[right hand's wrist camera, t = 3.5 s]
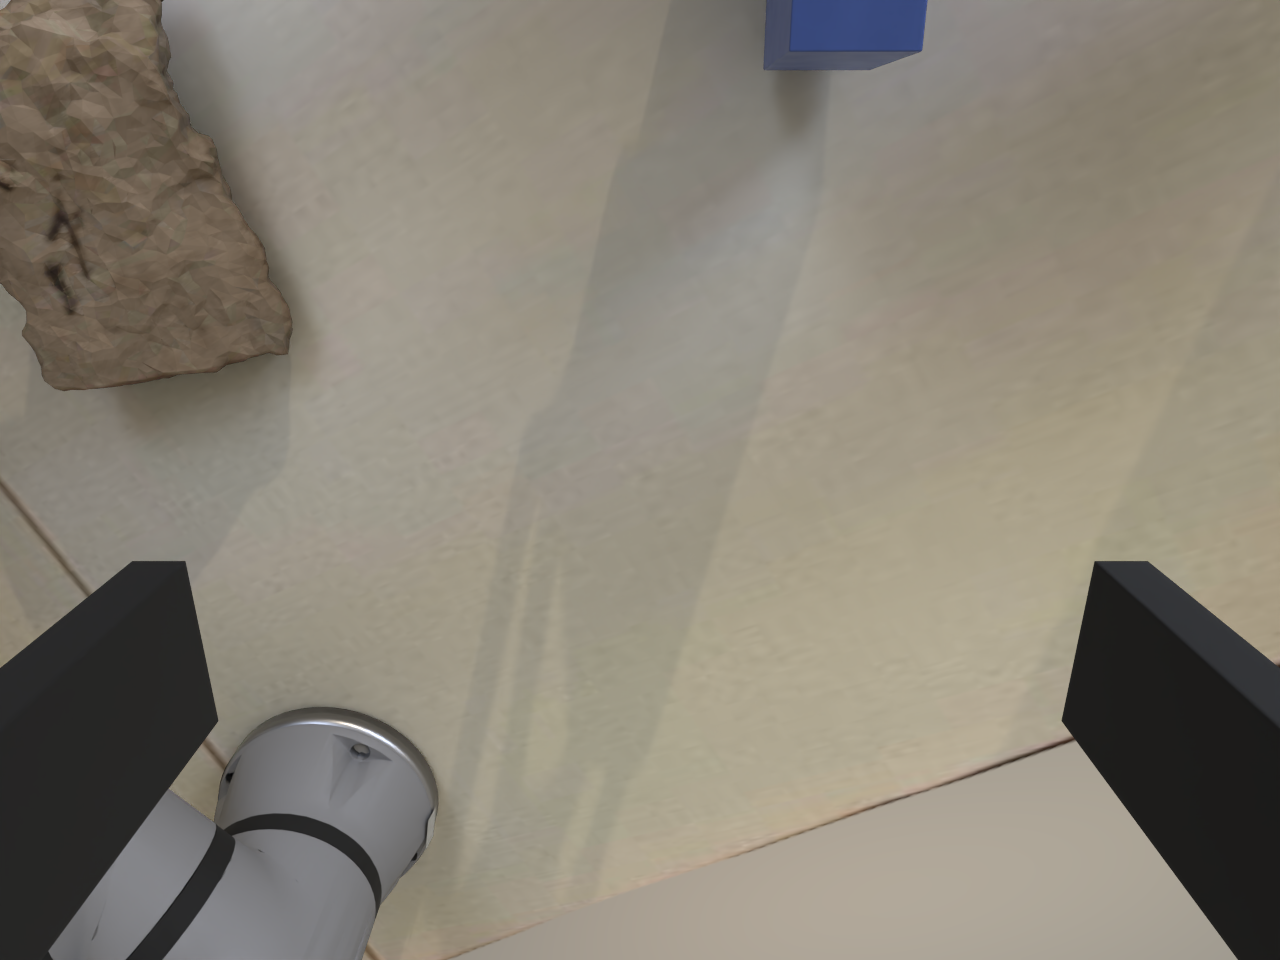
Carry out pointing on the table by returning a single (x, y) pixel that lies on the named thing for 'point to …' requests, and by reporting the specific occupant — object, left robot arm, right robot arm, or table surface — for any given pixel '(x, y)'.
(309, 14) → the table surface
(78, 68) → the stone
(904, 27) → the bar
